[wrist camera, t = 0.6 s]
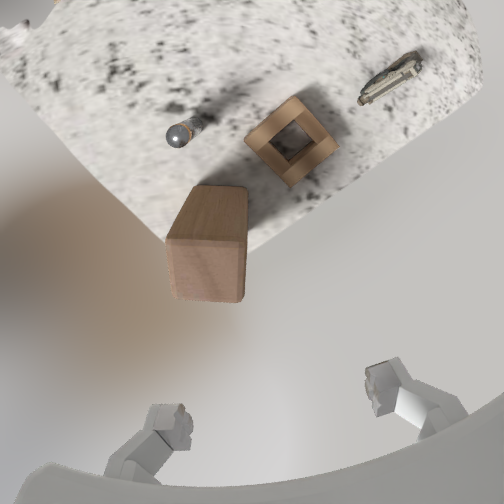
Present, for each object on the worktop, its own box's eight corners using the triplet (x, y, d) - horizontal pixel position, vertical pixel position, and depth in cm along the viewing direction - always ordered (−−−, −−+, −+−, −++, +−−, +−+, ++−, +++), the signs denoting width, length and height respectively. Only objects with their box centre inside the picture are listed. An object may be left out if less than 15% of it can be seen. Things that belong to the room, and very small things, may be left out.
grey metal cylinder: (192, 113, 42) (176, 119, 33) (206, 126, 43) (194, 135, 34) (179, 127, 43) (160, 137, 34) (193, 139, 45) (178, 153, 35)
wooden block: (248, 185, 49) (247, 241, 32) (245, 234, 54) (243, 306, 37) (192, 183, 49) (162, 237, 32) (194, 232, 54) (170, 301, 37)
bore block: (291, 95, 41) (295, 95, 37) (333, 142, 45) (339, 146, 41) (244, 137, 45) (243, 141, 41) (287, 180, 49) (290, 188, 45)
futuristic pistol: (353, 85, 43) (353, 101, 37) (412, 47, 33) (425, 56, 27) (361, 95, 44) (363, 113, 38) (420, 58, 34) (434, 69, 28)
